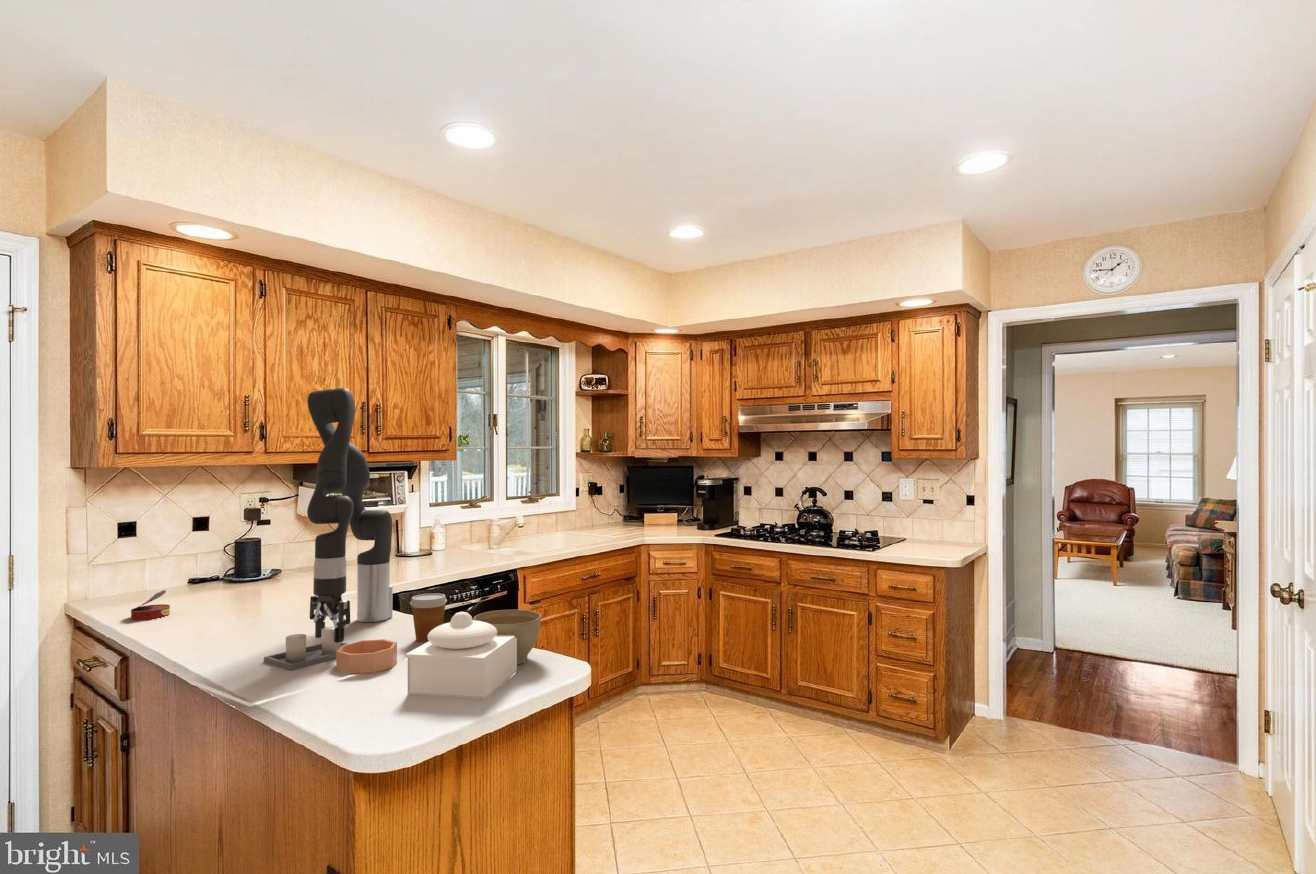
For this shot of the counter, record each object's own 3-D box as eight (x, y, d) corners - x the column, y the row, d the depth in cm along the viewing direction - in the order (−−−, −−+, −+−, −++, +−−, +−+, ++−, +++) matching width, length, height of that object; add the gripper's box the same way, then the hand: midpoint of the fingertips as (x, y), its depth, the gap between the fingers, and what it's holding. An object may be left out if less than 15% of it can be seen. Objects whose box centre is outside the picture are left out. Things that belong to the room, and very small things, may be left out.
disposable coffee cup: (412, 648, 182) (412, 601, 182) (407, 639, 190) (407, 595, 190) (450, 643, 186) (450, 598, 186) (443, 635, 194) (443, 591, 195)
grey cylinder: (299, 657, 172) (299, 633, 172) (309, 660, 169) (309, 635, 169) (281, 662, 168) (282, 637, 168) (291, 665, 166) (291, 639, 166)
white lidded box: (516, 673, 161) (516, 604, 161) (484, 701, 143) (484, 623, 144) (445, 669, 164) (445, 602, 164) (405, 696, 146) (405, 620, 147)
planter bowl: (538, 670, 163) (538, 623, 163) (467, 672, 161) (467, 625, 162) (543, 650, 179) (543, 608, 179) (479, 652, 177) (479, 609, 178)
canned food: (147, 636, 213) (131, 610, 209) (131, 628, 218) (115, 603, 214) (184, 612, 222) (169, 587, 217) (168, 605, 227) (153, 581, 222)
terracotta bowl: (375, 654, 176) (375, 636, 176) (408, 663, 169) (408, 644, 169) (325, 668, 165) (325, 649, 165) (358, 678, 158) (358, 658, 158)
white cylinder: (334, 648, 179) (334, 625, 179) (344, 651, 177) (344, 627, 177) (317, 653, 175) (317, 629, 176) (327, 655, 173) (327, 631, 173)
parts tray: (334, 646, 183) (334, 640, 183) (361, 654, 176) (361, 647, 176) (263, 664, 168) (263, 657, 168) (290, 673, 161) (290, 665, 162)
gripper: (360, 575, 175) (359, 640, 175) (328, 570, 183) (327, 632, 183) (331, 579, 169) (331, 647, 169) (300, 574, 177) (299, 639, 177)
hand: (329, 639), depth 176 cm, fingers open, 8 cm apart
